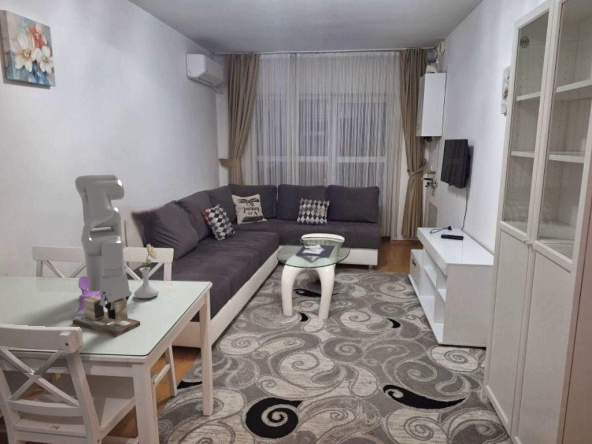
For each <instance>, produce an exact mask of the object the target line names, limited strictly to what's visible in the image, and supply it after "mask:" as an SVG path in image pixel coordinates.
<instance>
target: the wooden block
mask: <svg viewBox="0 0 592 444" xmlns="http://www.w3.org/2000/svg"><path fill="white" fill-rule="evenodd" d="M105 303H107V301H106V302H105ZM127 304H128V301H126V299H120V300H117V301H115V302H114V308H113V309H115V319H110V318H109V316H108V320H111V321H115V322H118V323H119V322H121V321H123V320H126V319H128V318H129V317H128V305H127ZM106 312H107V315H108V309H106Z"/></svg>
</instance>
